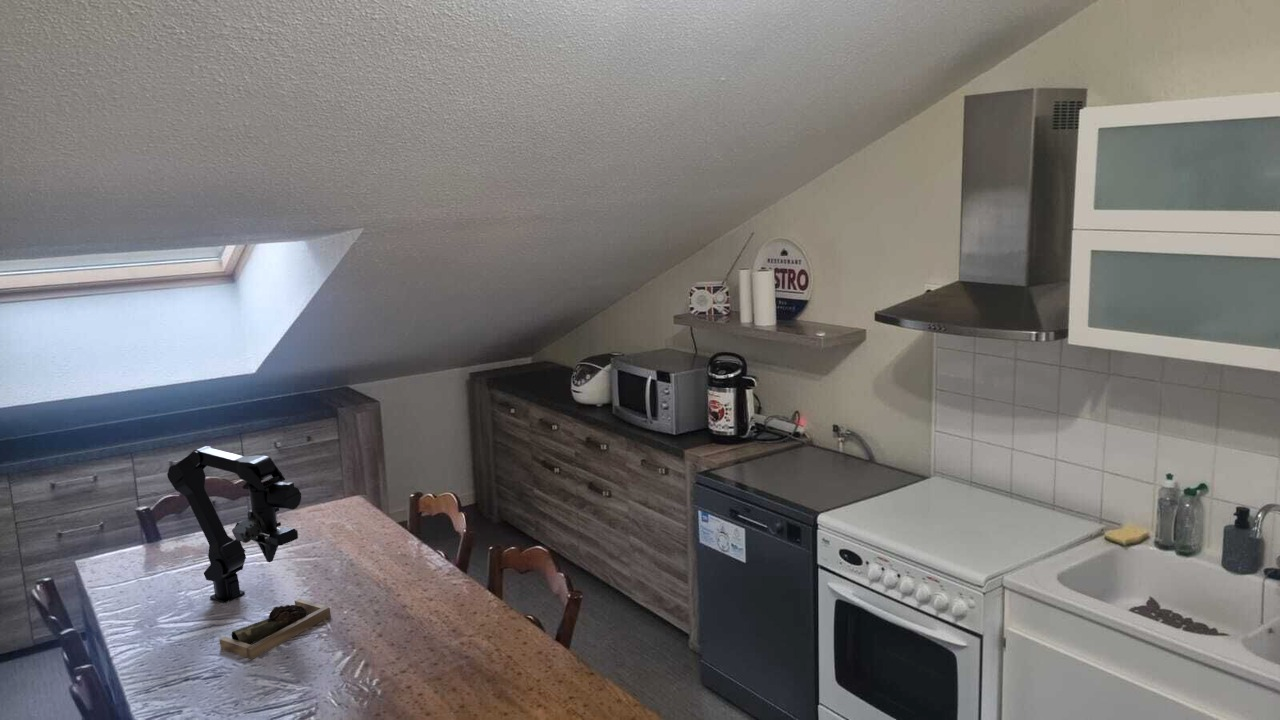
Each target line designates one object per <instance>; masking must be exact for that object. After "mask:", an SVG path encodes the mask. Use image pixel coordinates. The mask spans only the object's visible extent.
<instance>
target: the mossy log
mask: <svg viewBox="0 0 1280 720" xmlns="http://www.w3.org/2000/svg"><path fill="white" fill-rule="evenodd" d="M306 612H307V611H306V610H305V609H304V607H302V606H297V605H295V604H291V605H289V604H286V605H280V606H275V607H273V609H272V610H271V611H270V613H269V615H268V618H267V619H263V620H261V621H258V622H255V623H252V624H250V625H248V626H244V627H241V628H239V629H235V630H232V631H231V639H234V640H238V641H241V642H244V643H247V644H250V645H253V644H255V643H257V642H259V641H261V640H262V639H264V638H266V637H268V636H270V635H272V634H274V633H276V632H277V631H279V630H281V629H283V628H285V627H287V626H289V625H291V624H292V623H294V622H296V621H298V620H300V619H302V618H304V617H306V616H307V614H308V613H306Z"/></svg>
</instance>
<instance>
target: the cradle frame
mask: <svg viewBox="0 0 1280 720" xmlns="http://www.w3.org/2000/svg"><path fill="white" fill-rule="evenodd" d="M294 605H297V606H302V607H304V609H305V610H306V611H307V612H306V614H308V615H306V617H304V618H302V619H300V620H298V621H296V622H294V623H292V624H291V625H289V626H287V627H285V628H283V629H281V630H279V631H277V632H276V633H274V634H272V635H270V636H268V637H265V638H263V639H261V640H259V641H257V642H254V643H252V644H247V643H244V642H241V641H238V640H234V639H232V637H228V636H223V637H221V638H219V644H220V646H219V647H220V649H221V650H224V651H226V652H230V653H232V654H236V655H238V656H241V657H245V658H248V659H251V660H253V659H255V658H257V657H259V656H260V655H262V654H264V653H266V652H268V651H269V650H271V649H274V648H275V647H277V646H279V645H280V644H283V643H284V642H286V641H288V640H290V639H292V638H293V637H295V636H297V635H298V634H300V633H302V632H304V631H306V630H308V629H310V628H312V627H313V626H315V625H317V624H319V623H321V622H322V621H324V620H326V619H328V618H330V617H331V614H332V613H331V608H330V606H328V605H326V604H325V605H324V604H321V603H316V602H313V601H309V600H305V599H302V598H298V599H296V600H294Z"/></svg>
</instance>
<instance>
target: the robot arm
mask: <svg viewBox="0 0 1280 720" xmlns="http://www.w3.org/2000/svg"><path fill="white" fill-rule="evenodd" d="M207 467H210V468H214V469H218V470H221V471H225V472H229V473H233V474H235V475H237V477H238V478H239V479H241V481H244V482H245V483H244V484H242V486H241V489H242V490H248V491H249V498H250V499H249V500H250V506H251V509H250V510H248V512H247V518H245V519H243V520H240V521H237V522H236V523H235V526H234V527H233V528H232V529H231V532H232V534H233V535H234V538H235V539H234V538H232V537H231V536H229V535H228V533H227V531H226V529H225V527H224V525H223V523H222V521H221V519H220V516H219V515H218V513H217V510H216V509H215V506H214V505H213V502H212V501H211V499H210V498H211V497H210V496H209V495H208V492H207V490H206V488H205V486H206V477H207V476H206V473H205V469H207ZM167 471H168V472H167V473H166V476H167V478H168V481H169V483H170V484H171V486H172V487H173V488H174V491H176V492H179V493H180V494H181V495H182V496H184V497H185V498H186V500H187V502H188V503H189V504H188V505H189V506H190V508H191V510H192V512H193V514H194V516H195V519H196V521H197V523H198V524H199V527H200V528H201V530H202V533H203V535H204V537H205V539H206V541H207V543H208V545H209V546H208V556H207V557H208V560H209V563H210V564H209V566H208V567H207V568H206V570H205V571H204V572H203V575H204V577H205V580H206V581H210V582H212V583H213V589H214V590H213V591H214V594H212V595H210V596H209V599H211V600H213V601H217V602H222V603H228V602H230V601H231V600H233V599H236V598H238V597H240V596H242V595H244V594H246V592H245V590H241V589H240V581H239V578H238V576H239V575H238V574H237V573H238V572H239V571H242V570H243V569H244V565H245V562H246V559H247V558H246V556H247V555H246V553H245V552H246V550H245V548H244V547H243V545H242V543H243V544H246V543H249V542H251V541H253V542H255V543H257V545H258V547H259V548H260V550H261V552H262V554H263V556H264V558H265V560H266V562H267V563H271V562H273V560H274V558H275V555H276V552H277V550H278V548H279V546H281V547H282V546H284V545H286V544H289V543H290V542H293V541H295V540H298V539H299V532H298V530H297V529H296V528H292V527H290V526H283V527H281V526H282V523H281V521H278V519H277V512H280V509H284V510H296V509H297V508H298V507H299V506H300V504H301V501H302V492H301V490H300V488H298V487H296V486H295V483H294V482H291V481H290V482H285V481H286V478H285V477H284V475H283V473H282V472H281V471H280V470H279V468H278V467H277V465H276V464H275V462H274V461H273V459H272V457H270V456H267V455H248V456H246V455H241V454H237V453H232V452H227V451H225V450H220V449H215V448H213V447H212V446H210V445H209V446H208V445H204V446H201V447H199V448H197V449H194V450H192V452H191V453H189V454H188V455H187V456H185V458H183V459H181V460H180V461H178V462H177V463H175V464H172V465H171V466H169V468H168V470H167ZM268 478H269V479H268ZM279 527H281V528H279Z"/></svg>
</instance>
